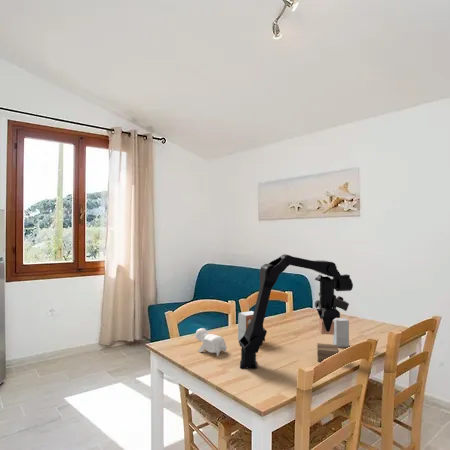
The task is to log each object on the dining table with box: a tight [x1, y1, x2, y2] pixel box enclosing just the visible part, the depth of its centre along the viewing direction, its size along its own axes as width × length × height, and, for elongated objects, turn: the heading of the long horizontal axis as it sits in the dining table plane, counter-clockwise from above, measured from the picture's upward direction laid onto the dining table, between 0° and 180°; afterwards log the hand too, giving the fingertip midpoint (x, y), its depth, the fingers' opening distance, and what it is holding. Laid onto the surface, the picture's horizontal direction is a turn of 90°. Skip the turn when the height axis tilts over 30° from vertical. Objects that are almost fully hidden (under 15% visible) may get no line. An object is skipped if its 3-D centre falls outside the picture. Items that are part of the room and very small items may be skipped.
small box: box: [237, 310, 254, 341], centre depth 160 cm, size 8×6×13 cm
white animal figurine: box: [195, 327, 228, 357], centre depth 147 cm, size 9×8×15 cm
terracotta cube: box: [318, 318, 334, 336], centre depth 139 cm, size 5×5×5 cm
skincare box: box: [332, 317, 350, 348], centre depth 154 cm, size 6×4×12 cm
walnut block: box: [316, 342, 340, 363], centre depth 138 cm, size 8×8×5 cm
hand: (326, 329), depth 139 cm, fingers closed on terracotta cube, 5 cm apart
